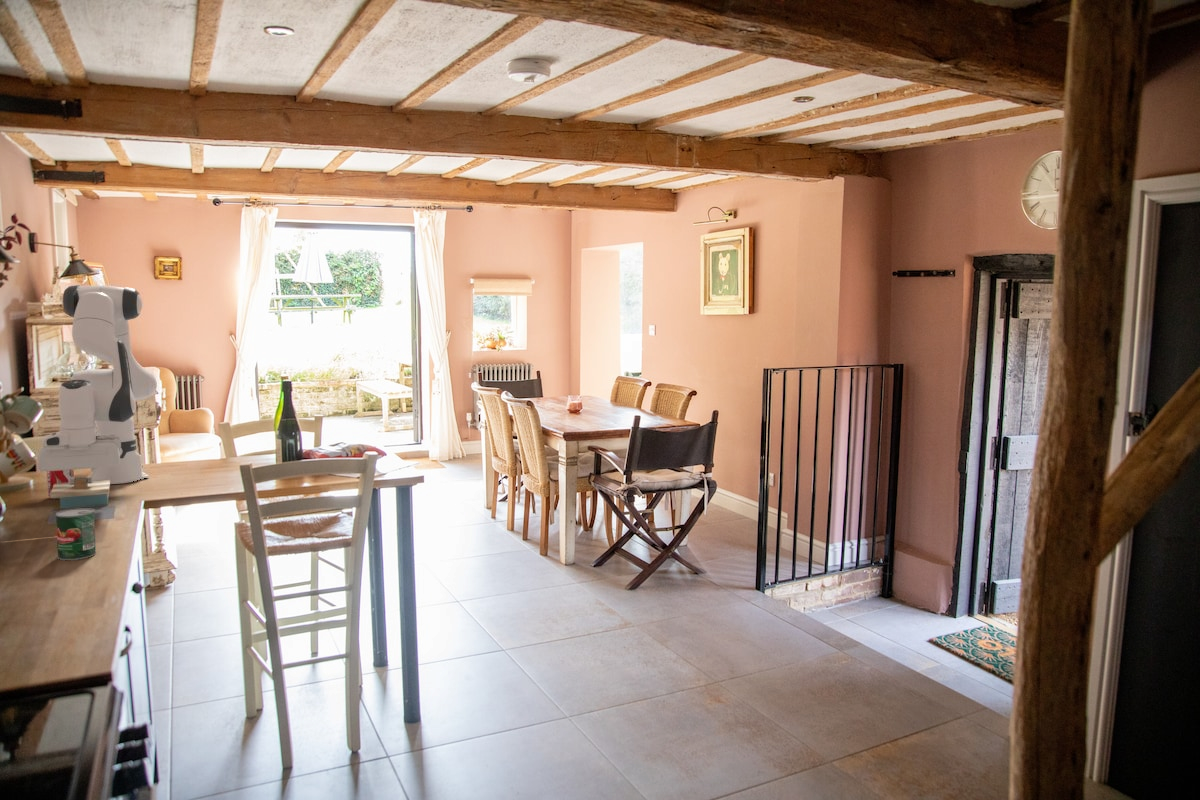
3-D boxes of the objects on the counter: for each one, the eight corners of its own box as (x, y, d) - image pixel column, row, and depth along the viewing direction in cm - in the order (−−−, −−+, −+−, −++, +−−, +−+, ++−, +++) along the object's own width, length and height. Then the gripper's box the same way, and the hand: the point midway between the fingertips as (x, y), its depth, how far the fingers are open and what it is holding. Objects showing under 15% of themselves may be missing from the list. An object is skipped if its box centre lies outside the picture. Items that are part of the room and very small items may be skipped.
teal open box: (63, 501, 250) (62, 482, 249) (108, 497, 256) (108, 479, 255) (60, 510, 240) (59, 490, 239) (107, 506, 245) (106, 486, 245)
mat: (51, 512, 237) (51, 511, 237) (115, 507, 245) (115, 505, 245) (46, 525, 223) (46, 524, 223) (113, 519, 231) (113, 517, 231)
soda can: (65, 500, 252) (63, 462, 250) (42, 499, 252) (40, 461, 251) (80, 495, 259) (78, 458, 258) (58, 494, 259) (56, 457, 258)
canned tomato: (52, 561, 192) (50, 516, 191) (64, 552, 200) (62, 508, 199) (89, 559, 195) (87, 515, 193) (100, 550, 202) (98, 507, 201)
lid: (54, 487, 236) (53, 473, 236) (110, 483, 243) (109, 470, 242) (49, 498, 224) (49, 484, 224) (108, 493, 231) (108, 480, 230)
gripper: (120, 433, 239) (122, 478, 241) (37, 437, 229) (40, 484, 231) (120, 436, 234) (122, 483, 236) (34, 440, 224) (37, 489, 226)
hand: (80, 483), depth 233 cm, fingers closed on lid, 3 cm apart
